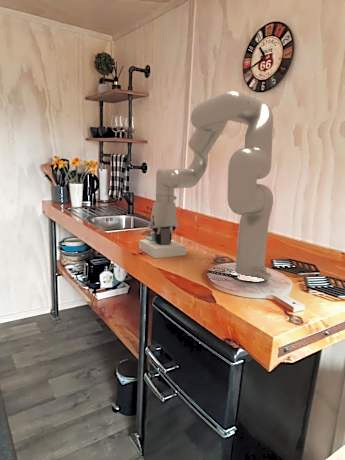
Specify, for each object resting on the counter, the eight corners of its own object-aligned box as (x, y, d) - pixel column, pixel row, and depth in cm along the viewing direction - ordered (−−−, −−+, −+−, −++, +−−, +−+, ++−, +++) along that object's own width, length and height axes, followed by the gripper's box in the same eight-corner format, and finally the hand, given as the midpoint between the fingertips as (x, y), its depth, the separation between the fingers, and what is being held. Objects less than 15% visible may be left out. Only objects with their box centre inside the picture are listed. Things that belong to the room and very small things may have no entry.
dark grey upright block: (169, 247, 135) (170, 228, 134) (161, 248, 133) (161, 229, 132) (165, 245, 139) (165, 226, 137) (156, 245, 137) (157, 227, 135)
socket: (185, 255, 134) (185, 245, 133) (155, 258, 127) (155, 248, 127) (167, 246, 148) (167, 237, 147) (139, 248, 141) (139, 240, 140)
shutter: (165, 240, 141) (165, 232, 141) (151, 241, 138) (151, 233, 137) (158, 236, 147) (158, 229, 147) (144, 237, 144) (144, 230, 143)
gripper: (178, 198, 140) (176, 239, 143) (142, 198, 132) (141, 242, 135) (186, 199, 133) (184, 243, 137) (149, 200, 125) (148, 246, 129)
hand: (163, 242), depth 136 cm, fingers open, 4 cm apart
